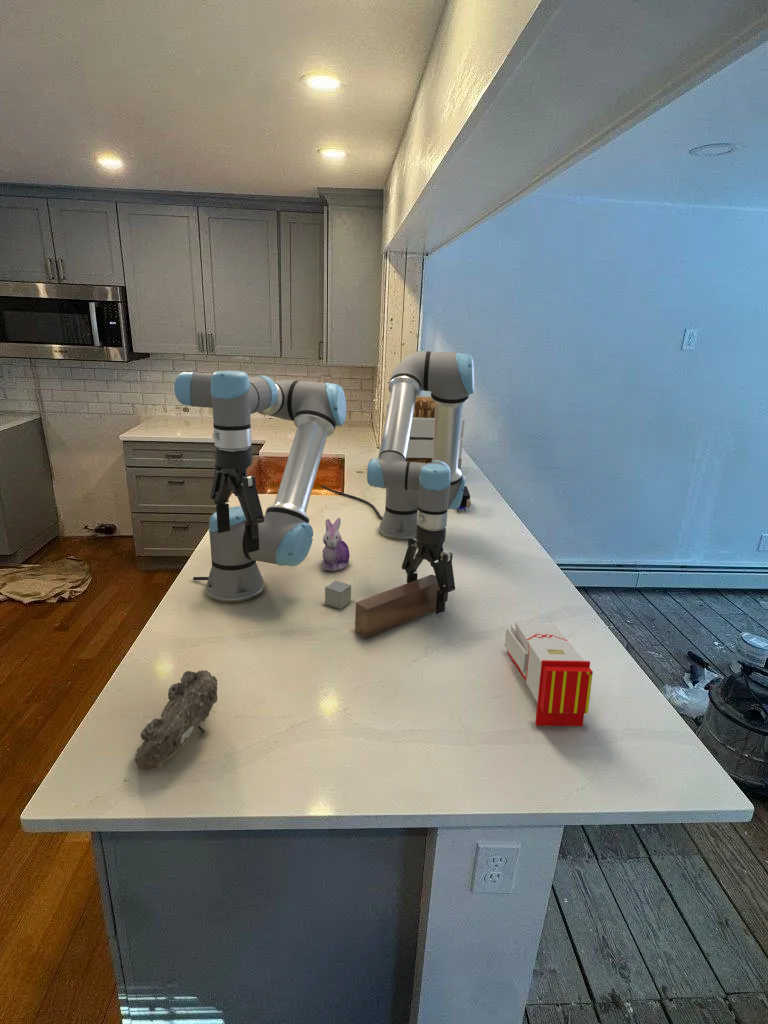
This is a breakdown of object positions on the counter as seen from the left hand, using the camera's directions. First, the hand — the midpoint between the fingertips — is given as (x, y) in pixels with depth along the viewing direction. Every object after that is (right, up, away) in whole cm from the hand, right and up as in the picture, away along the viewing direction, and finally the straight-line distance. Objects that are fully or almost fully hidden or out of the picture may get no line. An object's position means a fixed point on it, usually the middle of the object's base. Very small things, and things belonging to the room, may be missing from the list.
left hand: (237, 541), depth 126 cm
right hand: (+44, -18, +25) cm, 53 cm away
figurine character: (+63, +8, +103) cm, 121 cm away
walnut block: (+37, -21, +20) cm, 46 cm away
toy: (+66, -31, -4) cm, 73 cm away
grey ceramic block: (+20, -18, +26) cm, 37 cm away
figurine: (+18, -10, +47) cm, 51 cm away
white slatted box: (+50, +25, +149) cm, 159 cm away
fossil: (-4, -34, -21) cm, 40 cm away
